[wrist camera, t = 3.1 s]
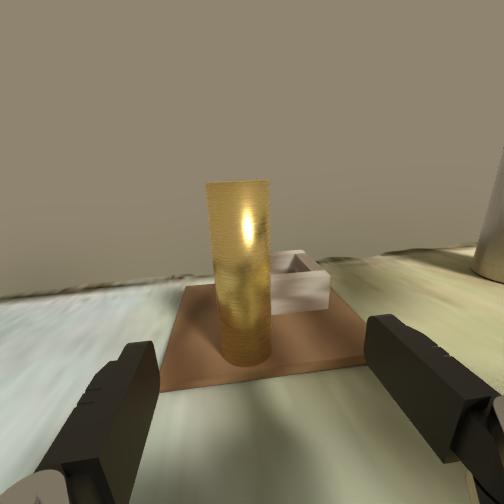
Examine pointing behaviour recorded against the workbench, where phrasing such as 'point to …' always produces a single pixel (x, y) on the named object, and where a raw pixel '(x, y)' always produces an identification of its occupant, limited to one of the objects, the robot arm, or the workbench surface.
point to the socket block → (283, 330)
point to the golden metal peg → (242, 268)
